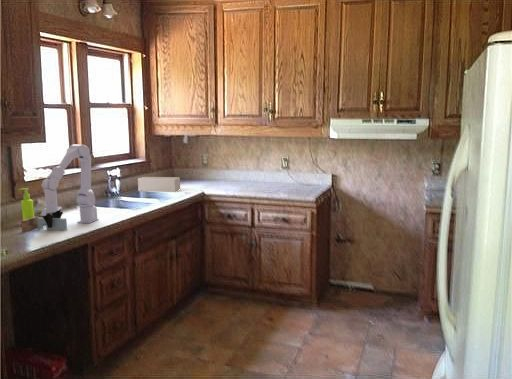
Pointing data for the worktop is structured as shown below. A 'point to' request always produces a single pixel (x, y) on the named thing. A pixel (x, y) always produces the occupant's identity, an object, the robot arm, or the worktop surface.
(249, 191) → the worktop surface
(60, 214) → the robot arm
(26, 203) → the soap dispenser
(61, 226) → the grey block
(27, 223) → the walnut board
